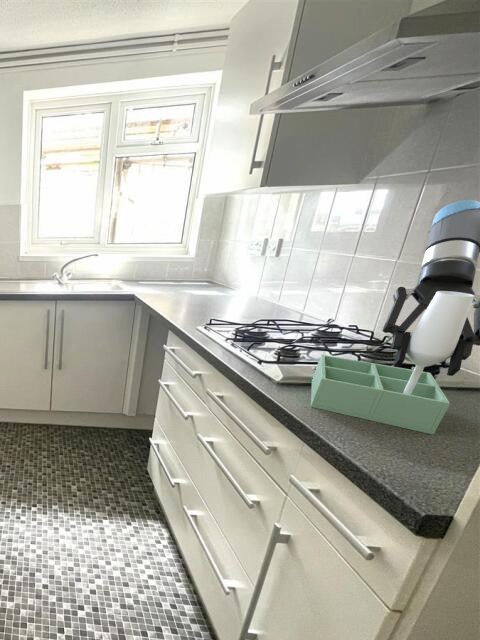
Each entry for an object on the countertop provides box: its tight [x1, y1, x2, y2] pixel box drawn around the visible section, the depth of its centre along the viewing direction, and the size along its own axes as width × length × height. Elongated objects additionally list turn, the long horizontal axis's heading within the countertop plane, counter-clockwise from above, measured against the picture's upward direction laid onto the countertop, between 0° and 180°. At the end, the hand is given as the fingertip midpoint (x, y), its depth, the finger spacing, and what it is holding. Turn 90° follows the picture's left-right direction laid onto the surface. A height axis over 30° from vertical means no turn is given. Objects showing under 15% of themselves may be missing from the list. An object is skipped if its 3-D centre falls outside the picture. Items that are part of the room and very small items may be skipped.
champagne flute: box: [403, 291, 474, 395], centre depth 81 cm, size 7×7×24 cm
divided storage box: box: [310, 354, 451, 436], centre depth 91 cm, size 19×19×7 cm
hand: (425, 367), depth 79 cm, fingers closed on champagne flute, 7 cm apart
